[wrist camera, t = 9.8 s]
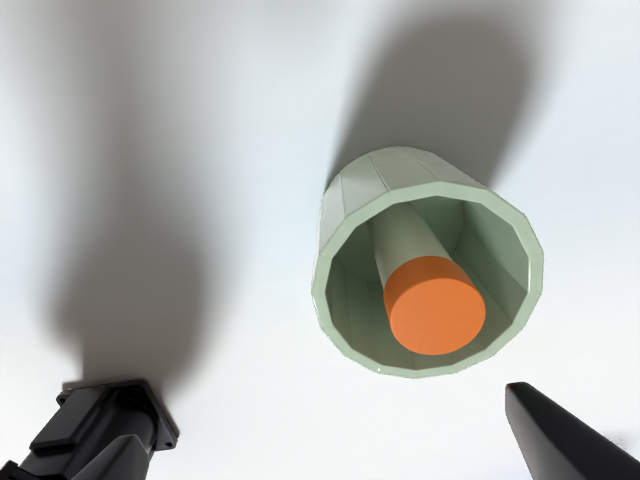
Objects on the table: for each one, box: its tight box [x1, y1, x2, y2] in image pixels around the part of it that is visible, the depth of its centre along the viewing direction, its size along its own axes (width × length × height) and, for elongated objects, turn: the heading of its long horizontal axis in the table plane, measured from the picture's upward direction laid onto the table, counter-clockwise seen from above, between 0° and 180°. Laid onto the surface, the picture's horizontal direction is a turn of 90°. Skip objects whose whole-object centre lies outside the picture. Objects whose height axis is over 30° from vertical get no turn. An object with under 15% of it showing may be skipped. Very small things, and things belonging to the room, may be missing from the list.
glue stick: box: [368, 202, 486, 355], centre depth 15 cm, size 3×3×8 cm
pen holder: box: [311, 147, 544, 379], centre depth 16 cm, size 8×8×7 cm
